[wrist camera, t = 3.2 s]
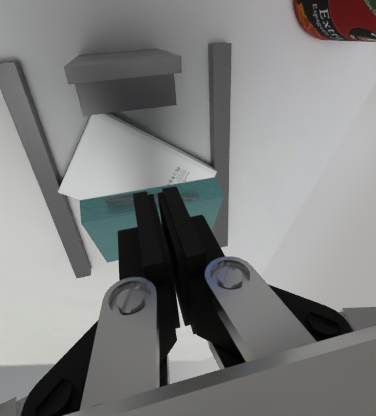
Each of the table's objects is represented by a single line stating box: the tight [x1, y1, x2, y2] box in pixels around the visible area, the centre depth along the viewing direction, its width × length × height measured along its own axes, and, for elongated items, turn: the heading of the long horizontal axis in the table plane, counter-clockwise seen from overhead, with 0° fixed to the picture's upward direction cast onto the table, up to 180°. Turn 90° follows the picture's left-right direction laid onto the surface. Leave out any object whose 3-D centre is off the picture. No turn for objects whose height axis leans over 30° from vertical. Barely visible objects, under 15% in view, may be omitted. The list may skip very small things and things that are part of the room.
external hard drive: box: [58, 113, 217, 200], centre depth 26 cm, size 2×8×12 cm
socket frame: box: [0, 43, 231, 278], centre depth 24 cm, size 21×18×9 cm
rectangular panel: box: [80, 177, 224, 291], centre depth 19 cm, size 18×6×1 cm, turn 4°
